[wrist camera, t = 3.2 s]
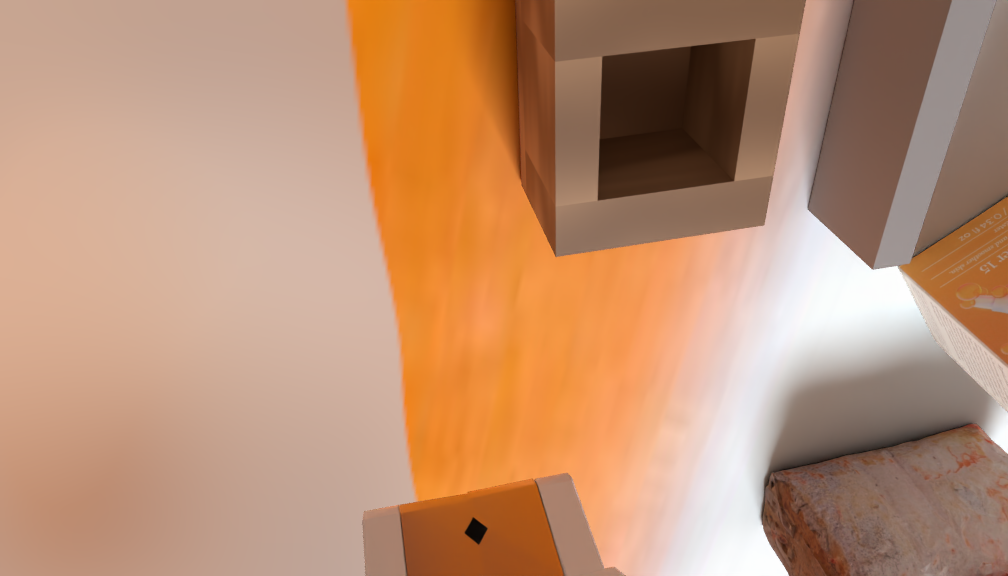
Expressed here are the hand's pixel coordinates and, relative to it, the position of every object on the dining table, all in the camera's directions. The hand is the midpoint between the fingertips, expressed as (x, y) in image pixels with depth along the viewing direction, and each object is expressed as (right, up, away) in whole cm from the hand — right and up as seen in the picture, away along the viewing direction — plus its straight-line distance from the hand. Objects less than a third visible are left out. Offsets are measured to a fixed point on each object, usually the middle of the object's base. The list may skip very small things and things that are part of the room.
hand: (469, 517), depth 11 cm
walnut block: (+4, +11, +15) cm, 19 cm away
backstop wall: (+13, +11, +17) cm, 24 cm away
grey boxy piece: (+21, -7, +32) cm, 40 cm away
